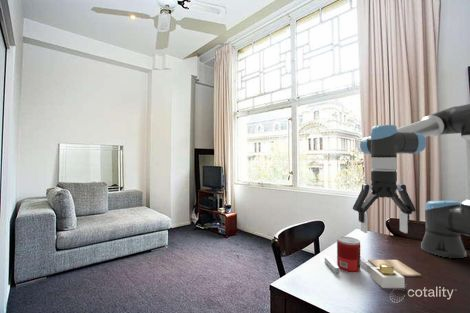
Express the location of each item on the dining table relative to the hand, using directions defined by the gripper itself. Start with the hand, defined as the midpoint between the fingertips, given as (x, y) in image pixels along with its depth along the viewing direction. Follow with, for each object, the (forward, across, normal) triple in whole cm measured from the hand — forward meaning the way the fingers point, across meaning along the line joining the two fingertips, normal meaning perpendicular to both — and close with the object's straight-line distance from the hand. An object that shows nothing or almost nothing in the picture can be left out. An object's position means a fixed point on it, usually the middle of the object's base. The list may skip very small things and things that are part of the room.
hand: (383, 231), depth 79 cm
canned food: (+17, +8, -9) cm, 21 cm away
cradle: (+17, +8, -9) cm, 21 cm away
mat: (+17, -10, -10) cm, 22 cm away
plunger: (+14, 0, +1) cm, 14 cm away
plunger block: (+17, 0, +1) cm, 17 cm away
